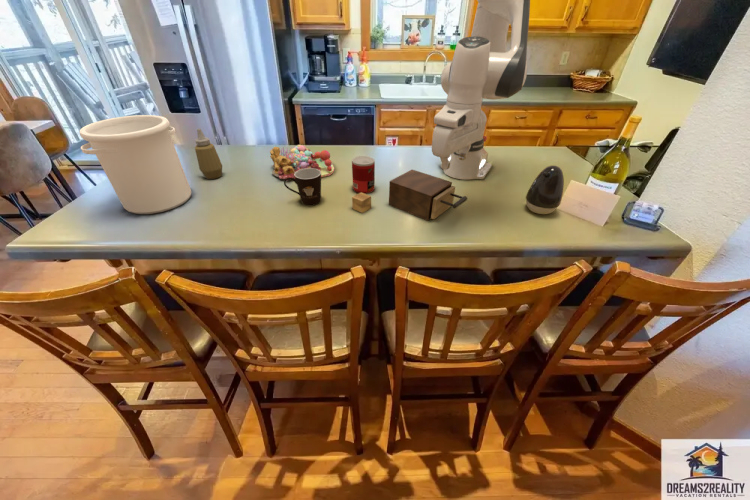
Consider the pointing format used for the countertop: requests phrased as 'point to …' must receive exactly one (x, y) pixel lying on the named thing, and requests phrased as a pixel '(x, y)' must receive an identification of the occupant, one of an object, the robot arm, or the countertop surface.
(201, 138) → the squeeze bottle
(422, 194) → the cabinet
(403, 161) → the countertop surface
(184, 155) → the countertop surface
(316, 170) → the coffee mug
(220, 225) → the countertop surface
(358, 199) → the block
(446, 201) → the drawer
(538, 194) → the dark egg ornament
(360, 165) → the canned food
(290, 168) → the candy landscape model
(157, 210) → the bucket
